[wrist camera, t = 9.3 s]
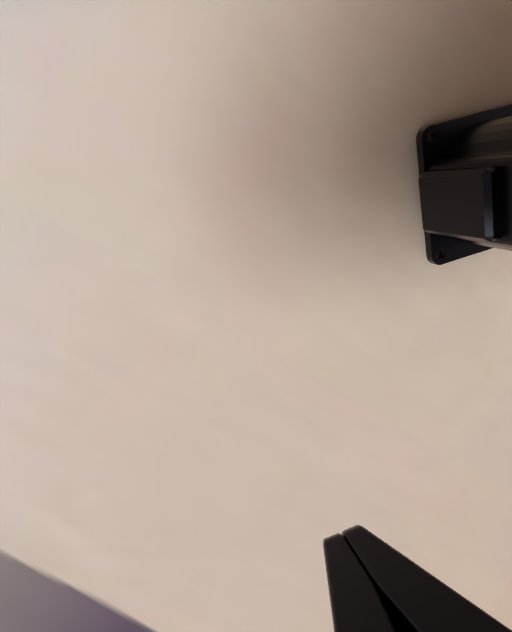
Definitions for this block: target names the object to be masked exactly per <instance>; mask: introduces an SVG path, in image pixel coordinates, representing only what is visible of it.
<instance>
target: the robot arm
mask: <svg viewBox="0 0 512 632" xmlns="http://www.w3.org/2000/svg"><path fill="white" fill-rule="evenodd" d="M428 133H429V134H430V136H431V140H430V142H428V141H427V134H428ZM416 142H417V153H418V164H419V175H420V178H419V187H420V198H421V209H422V220H423V229H424V231H425V242H426V253H427V259H428V261H429V262H430V263H433V264H437V265H441V264H445V263H448V262H451V261H454V260H457V259H460V258H463V257H466V256H469V255H472V254H476V253H479V252H482V251H485V250H488V249H491V248H499V249H505V250H511V251H512V104H511V105H507V106H503V107H499V108H495V109H491V110H487V111H484V112H480V113H476V114H472V115H468V116H464V117H460V118H456V119H452V120H449V121H445V122H441V123H437V124H433V125H429V126H425V127H423V128H421V129H420V131H419V132H418V134H417V140H416ZM438 251H440V255H439V257H438V258H437V257H436V254H437V252H438ZM323 548H324V555H325V563H326V571H327V578H328V586H329V594H330V602H331V609H332V617H333V625H334V632H512V630H510V629H509V628H507V627H506V626H504V625H503V624H502V623H500V622H499V621H497V620H496V619H494V618H493V617H492V616H490V615H489V614H487V613H486V612H484V611H483V610H482V609H480V608H479V607H477V606H476V605H474V604H473V603H471V602H470V601H469V600H467V599H466V598H464V597H463V596H461V595H460V594H459V593H457V592H456V591H454V590H453V589H451V588H450V587H448V586H447V585H446V584H444V583H443V582H441V581H440V580H438V579H437V578H436V577H434V576H433V575H431V574H430V573H428V572H427V571H425V570H424V569H423V568H421V567H420V566H418V565H417V564H415V563H414V562H413V561H411V560H410V559H408V558H407V557H405V556H404V555H402V554H401V553H400V552H398V551H397V550H395V549H394V548H392V547H391V546H390V545H388V544H387V543H385V542H384V541H382V540H381V539H380V538H378V537H377V536H375V535H374V534H372V533H371V532H369V531H368V530H367V529H365V528H364V527H362V526H360V525H356V526H354V527H351V528H349V529H347V530H344V531H343V532H342V535H341V534H340V533H337V534H335V535H332V536H330V537H328V538H325V539H324V540H323Z"/></svg>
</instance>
